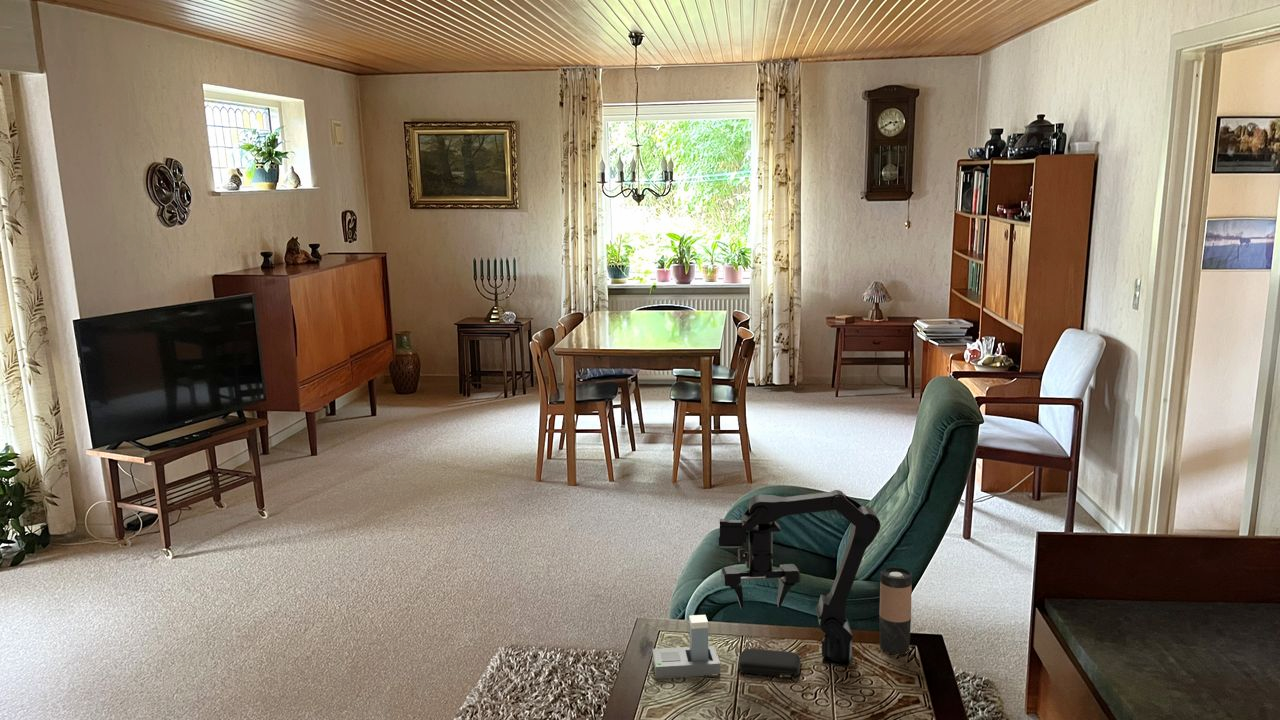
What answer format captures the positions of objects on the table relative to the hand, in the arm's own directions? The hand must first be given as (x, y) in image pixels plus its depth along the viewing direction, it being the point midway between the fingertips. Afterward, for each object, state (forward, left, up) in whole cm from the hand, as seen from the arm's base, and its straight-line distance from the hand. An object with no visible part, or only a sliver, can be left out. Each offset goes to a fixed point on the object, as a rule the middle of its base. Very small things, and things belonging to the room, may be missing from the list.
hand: (760, 607), depth 217 cm
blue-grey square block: (+12, +10, -13) cm, 21 cm away
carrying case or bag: (-4, +5, -14) cm, 15 cm away
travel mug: (-30, -17, -13) cm, 37 cm away
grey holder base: (+15, +12, -13) cm, 23 cm away
